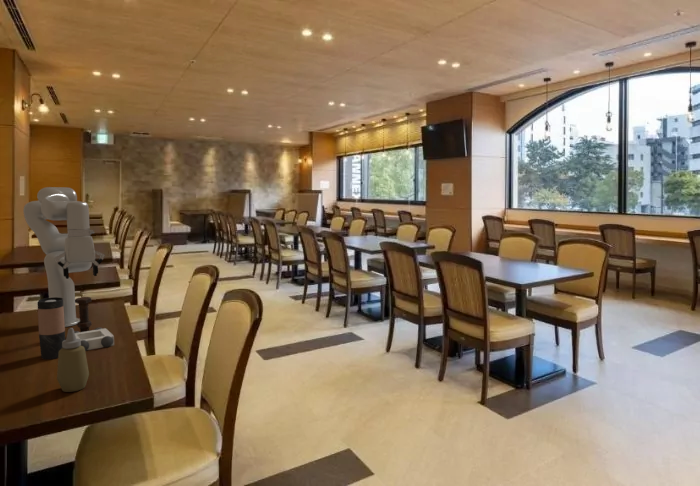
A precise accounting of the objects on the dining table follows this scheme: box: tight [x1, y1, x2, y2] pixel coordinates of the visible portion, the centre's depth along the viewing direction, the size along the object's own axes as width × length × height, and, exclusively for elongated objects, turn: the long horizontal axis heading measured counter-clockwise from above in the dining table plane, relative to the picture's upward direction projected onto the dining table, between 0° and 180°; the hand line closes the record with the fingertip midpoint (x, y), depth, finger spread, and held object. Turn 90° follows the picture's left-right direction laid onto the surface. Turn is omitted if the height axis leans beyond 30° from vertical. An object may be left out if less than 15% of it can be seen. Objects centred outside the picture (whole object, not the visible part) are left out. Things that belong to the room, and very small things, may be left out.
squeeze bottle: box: [56, 327, 90, 393], centre depth 135 cm, size 8×8×18 cm
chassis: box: [74, 327, 115, 352], centre depth 175 cm, size 15×13×4 cm
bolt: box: [75, 296, 93, 332], centre depth 186 cm, size 6×5×15 cm
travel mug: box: [36, 297, 66, 360], centre depth 162 cm, size 8×8×20 cm
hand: (81, 276), depth 183 cm, fingers open, 9 cm apart
